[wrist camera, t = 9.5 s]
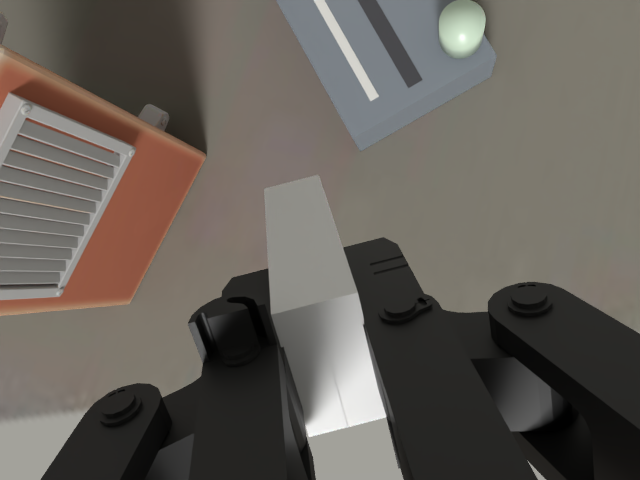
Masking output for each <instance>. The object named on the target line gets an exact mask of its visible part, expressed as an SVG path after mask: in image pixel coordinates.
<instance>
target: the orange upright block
mask: <svg viewBox="0 0 640 480" xmlns="http://www.w3.org/2000/svg"><path fill="white" fill-rule="evenodd" d="M7 24H8V21H7V19H6V18H5V16H4V15H3V13H2V12H0V316H3V315H14V314H25V313H36V312H47V311H58V310H69V309H80V308H91V307H102V306H113V305H124V304H129V303H130V302H131V300H132V299H133V297H134V295H135V293H136V291H137V289H138V287H139V285H140V283H141V281H142V279H143V277H144V276H145V274H146V272H147V270H148V268H149V266H150V264H151V262H152V260H153V258H154V256H155V254H156V253H157V251H158V249H159V247H160V245H161V243H162V241H163V239H164V237H165V235H166V233H167V231H168V230H169V228H170V226H171V224H172V222H173V220H174V218H175V216H176V214H177V212H178V210H179V208H180V206H181V205H182V203H183V201H184V199H185V197H186V195H187V193H188V191H189V189H190V187H191V185H192V183H193V182H194V180H195V178H196V176H197V174H198V172H199V170H200V168H201V166H202V164H203V162H204V160H205V159H206V154H205V153H204V152H202V151H200V150H198V149H196V148H195V147H193V146H191V145H189V144H187V143H185V142H183V141H181V140H180V139H178V138H176V137H174V136H172V135H170V134H168V133H166V132H165V129H166V126H167V123H168V121H169V115H168V113H167V112H165V111H163V110H161V109H159V108H157V107H155V106H154V105H152V104H147V105H145V106H144V108H143V110H142V111H141V113H140V114H139V116H138V117H136V116H134V115H133V114H131V113H129V112H127V111H125V110H123V109H121V108H119V107H117V106H116V105H114V104H112V103H110V102H108V101H106V100H104V99H102V98H101V97H99V96H97V95H95V94H93V93H91V92H89V91H87V90H85V89H84V88H82V87H80V86H78V85H76V84H74V83H72V82H70V81H69V80H67V79H65V78H63V77H61V76H59V75H57V74H55V73H53V72H52V71H50V70H48V69H46V68H44V67H42V66H40V65H38V64H37V63H35V62H33V61H31V60H29V59H27V58H25V57H23V56H21V55H20V54H18V53H16V52H14V51H12V50H10V49H8V48H6V47H5V46H3V45H1V44H2V40H3V37H4V34H5V31H6V27H7Z"/></svg>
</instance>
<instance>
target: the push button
mask: <svg viewBox="0 0 640 480" xmlns="http://www.w3.org/2000/svg"><path fill="white" fill-rule="evenodd" d="M485 22H486V17H485V13H484V11H483V9H482V8H481V6H480V5H478V4H477V3H476V2H474V1H472V0H456V1H453V2H452V3H450V4H448V5H447V6H446V7H445V8H444V10H443V11H442V13H441V15H440V18H439V45H440V47H441V49H442V51H443V52H444V53H445V54H446V55H448V56H450V57H452V58H456V59H463V58H467V57H469V56H471V55H473V54H474V53H475V52H476V51H477V50H478V49H479V47H480V45H481V43H482V38H483V33H484V28H485Z"/></svg>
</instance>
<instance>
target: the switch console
mask: <svg viewBox="0 0 640 480" xmlns="http://www.w3.org/2000/svg"><path fill="white" fill-rule="evenodd" d="M276 1H277V3H278V5H279V6H280V8H281V10H282V12H283V14H284V15H285V17H286V19H287V21H288V23H289V24H290V26H291V28H292V30H293V32H294V34H295V35H296V37H297V39H298V41H299V43H300V44H301V46H302V48H303V50H304V52H305V53H306V55H307V57H308V59H309V61H310V62H311V64H312V66H313V68H314V70H315V71H316V73H317V75H318V77H319V79H320V80H321V82H322V84H323V86H324V88H325V90H326V91H327V93H328V95H329V97H330V99H331V100H332V102H333V104H334V106H335V108H336V109H337V111H338V113H339V115H340V117H341V118H342V120H343V122H344V124H345V126H346V127H347V129H348V131H349V133H350V135H351V136H352V138H353V140H354V142H355V143H356V145H357V146H358V148H359V150H360V151H362V150H364V149H366V148H367V147H369V146H371V145H373V144H374V143H376V142H378V141H380V140H381V139H383V138H385V137H387V136H388V135H390V134H392V133H393V132H395V131H397V130H399V129H400V128H402V127H404V126H406V125H407V124H409V123H411V122H413V121H414V120H416V119H418V118H420V117H421V116H423V115H425V114H427V113H428V112H430V111H432V110H434V109H435V108H437V107H439V106H441V105H442V104H444V103H446V102H448V101H449V100H451V99H453V98H455V97H456V96H458V95H460V94H462V93H463V92H465V91H467V90H469V89H470V88H472V87H474V86H476V85H477V84H479V83H481V82H483V81H484V80H486V79H488V78H489V77H491V75H492V71H493V67H494V64H495V60H496V56H497V55H496V53H495V52H494V50H493V48H492V47H491V45H490V43H489V42H488V40H487V38H486V37H485V35H484V33H483V38H482V43H481V45H480V47H479V49H478V50H477V51H476V52H475V53H474V54H473V55H471V56H469V57H467V58H463V59H456V58H452V57H450V56H448V55H446V54H445V53H444V52H443V51H442V49H441V47H440V45H439V18H440V15H441V13H442V11H443V10H444V8H445V7H446V6H447V5H448V4H450V3H452V2H453V1H456V0H276Z"/></svg>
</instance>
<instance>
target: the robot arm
mask: <svg viewBox="0 0 640 480" xmlns="http://www.w3.org/2000/svg"><path fill="white" fill-rule="evenodd" d="M264 196H265V215H266V233H267V251H268V269H264V270H260V271H256V272H253V273H249V274H245V275H241V276H237V277H233V278H232V279H231V280H230V281H229V283H228V284H227V285H226V287H225V288H224V289H223V291H222V297H220V298H217V299H214V300H212V301H211V302H209V303H207V304H205V305H204V306H202V307H200V308H199V309H198V310H197V311H196V312H195V313H194V314H193V315H192V316H191V318H190V320H189V322H188V326H189V328H190V331H191V333H192V336H193V339H194V341H195V344H196V346H197V349H198V352H199V354H200V357H201V360H202V362H203V367H202V375H201V377H200V378H198V379H197V380H196V381H194V382H193V383H191V384H189V385H188V386H186V387H184V388H182V389H180V390H178V391H176V392H174V393H171V394H169V395H167V396H165V397H163V398H162V396H161V394H160V391H159V389H158V388H157V387H155V386H153V385H151V384H140V383H137V384H133V385H128V386H124V387H121V388H118V389H117V390H113V391H112V392H110V393H108V394H107V395H105V396H104V397H103V398H101V399H100V400H98V401H97V402H95V403H94V404H93V406H92V407H91V408H90V409H89V410H88V411H87V412H86V413H85V415H84V416H83V418H82V419H81V421H80V422H79V424H78V425H77V427H76V428H75V429H74V431H73V432H72V434H71V435H70V437H69V438H68V440H67V441H66V443H65V444H64V446H63V447H62V449H61V450H60V452H59V453H58V455H57V456H56V458H55V459H54V461H53V462H52V464H51V465H50V466H49V468H48V469H47V471H46V472H45V474H44V475H43V477H42V478H41V480H316V478H315V471H314V463H313V456H312V453H311V450H310V447H309V444H308V441H307V437H306V430H305V425H306V428H307V432H308V435H309V437H311V436H314V435H319V434H323V433H327V432H331V431H335V430H338V429H342V428H346V427H350V426H354V425H358V424H362V423H366V422H370V421H374V420H377V419H381V418H386V417H387V421H388V426H389V430H390V434H391V438H392V443H393V447H394V451H395V455H396V460H397V464H398V468H401V472H402V475H403V479H404V480H538V479H537V478H536V476H535V474H534V472H533V470H532V468H531V467H530V465H529V463H528V461H529V462H530V463H531V464H532V465H533V466H534V468H536V470H537V471H538V472H539V473H540V474H541V475H542V476H543V477H544V478H545V479H546V480H640V334H639V333H637V332H636V331H634V330H632V329H631V328H629V327H627V326H626V325H624V324H622V323H620V322H619V321H617V320H615V319H614V318H612V317H610V316H608V315H607V314H605V313H603V312H602V311H600V310H598V309H597V308H595V307H593V306H591V305H590V304H588V303H586V302H585V301H583V300H581V299H580V298H578V297H576V296H574V295H573V294H571V293H569V292H568V291H566V290H564V289H562V288H559V287H557V286H554V285H552V284H546V283H538V282H527V283H525V282H524V283H518V284H515V285H511V286H508V287H505V288H503V289H501V290H499V291H498V292H496V293H494V294H493V296H492V297H491V298H490V300H489V301H488V312H475V313H457V312H451V311H446V310H443V309H442V308H441V307H440V305H439V303H438V302H437V301H436V300H435V299H434V298H433V297H432V296H429V295H426V294H424V293H423V291H422V289H421V287H420V285H419V283H418V281H417V280H416V278H415V276H414V274H413V272H412V270H411V268H410V267H409V266H408V263H407V261H406V259H405V257H404V256H403V254H402V252H401V250H400V248H399V246H398V244H396V243H394V242H392V241H390V240H388V239H386V238H384V237H383V238H379V239H375V240H371V241H367V242H363V243H359V244H355V245H352V246H348V247H344V248H343V246H342V243H341V240H340V237H339V234H338V231H337V228H336V225H335V222H334V219H333V216H332V213H331V210H330V207H329V204H328V201H327V198H326V195H325V192H324V189H323V186H322V183H321V180H320V177H319V175H315V176H311V177H307V178H303V179H299V180H296V181H292V182H288V183H284V184H280V185H276V186H272V187H268V188H264ZM526 459H527V460H528V461H527V460H526Z"/></svg>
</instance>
